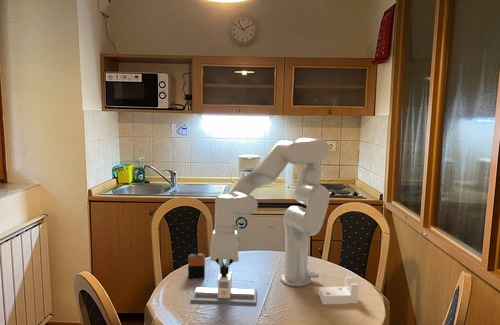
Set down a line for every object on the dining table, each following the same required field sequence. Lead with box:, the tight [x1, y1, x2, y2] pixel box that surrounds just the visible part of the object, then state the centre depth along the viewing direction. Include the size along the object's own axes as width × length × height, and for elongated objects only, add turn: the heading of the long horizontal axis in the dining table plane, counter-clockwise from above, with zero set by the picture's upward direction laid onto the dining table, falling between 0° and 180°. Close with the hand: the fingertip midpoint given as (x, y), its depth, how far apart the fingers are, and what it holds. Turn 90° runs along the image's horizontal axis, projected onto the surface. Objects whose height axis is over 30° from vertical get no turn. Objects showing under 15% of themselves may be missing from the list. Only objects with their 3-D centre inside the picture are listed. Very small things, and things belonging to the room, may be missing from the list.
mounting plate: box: [190, 286, 258, 306], centre depth 142 cm, size 24×10×1 cm, turn 87°
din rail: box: [195, 287, 255, 298], centre depth 141 cm, size 22×4×2 cm, turn 87°
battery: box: [187, 252, 206, 280], centre depth 159 cm, size 4×7×10 cm, turn 96°
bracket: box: [317, 276, 359, 305], centre depth 141 cm, size 13×7×8 cm, turn 94°
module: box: [217, 271, 233, 298], centre depth 141 cm, size 4×8×7 cm, turn 177°
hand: (224, 275), depth 141 cm, fingers closed
